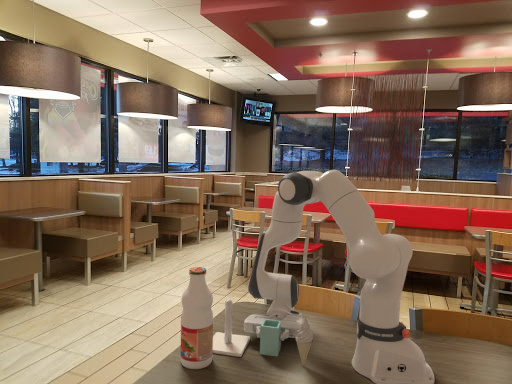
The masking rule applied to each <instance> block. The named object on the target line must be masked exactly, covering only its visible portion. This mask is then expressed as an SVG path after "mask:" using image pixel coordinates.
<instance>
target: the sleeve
mask: <svg viewBox="0 0 512 384" xmlns="http://www.w3.org/2000/svg"><path fill="white" fill-rule="evenodd" d="M280 333H281V321H278V320H269V319H264V320H263V322H262V324H261V329H260V338H259V339H260V340H259V355H263V356H270V357H278V356H279V354H280V351H281V346H282V341H281V340H279V335H280Z"/></svg>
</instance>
